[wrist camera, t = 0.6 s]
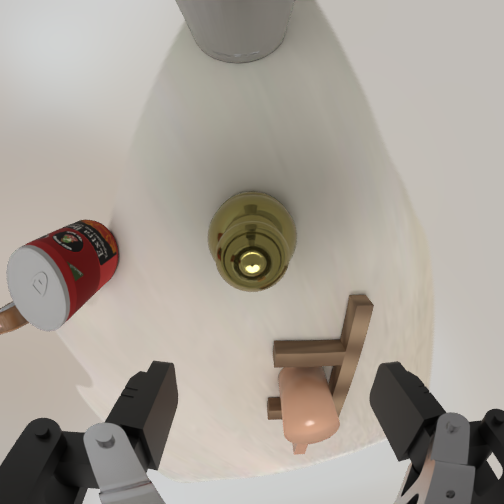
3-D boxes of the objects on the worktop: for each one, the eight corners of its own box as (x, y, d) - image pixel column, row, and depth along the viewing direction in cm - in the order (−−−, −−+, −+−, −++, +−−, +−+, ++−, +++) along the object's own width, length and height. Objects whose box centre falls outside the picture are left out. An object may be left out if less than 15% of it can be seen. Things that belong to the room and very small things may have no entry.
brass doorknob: (201, 208, 26) (174, 233, 17) (273, 178, 26) (286, 186, 16) (232, 274, 29) (223, 328, 19) (300, 247, 28) (325, 291, 18)
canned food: (131, 240, 27) (75, 282, 17) (107, 295, 29) (58, 348, 19) (79, 204, 26) (11, 228, 16) (60, 261, 28) (3, 299, 18)
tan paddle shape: (280, 360, 32) (287, 415, 23) (327, 358, 32) (345, 411, 23) (273, 414, 35) (276, 464, 27) (313, 412, 35) (323, 460, 27)
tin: (13, 317, 31) (-17, 343, 23) (4, 301, 30) (-27, 325, 22) (63, 299, 30) (27, 332, 22) (52, 278, 29) (13, 307, 21)
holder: (278, 294, 29) (280, 306, 27) (365, 294, 29) (373, 305, 27) (264, 429, 36) (264, 441, 34) (326, 426, 37) (329, 437, 34)
